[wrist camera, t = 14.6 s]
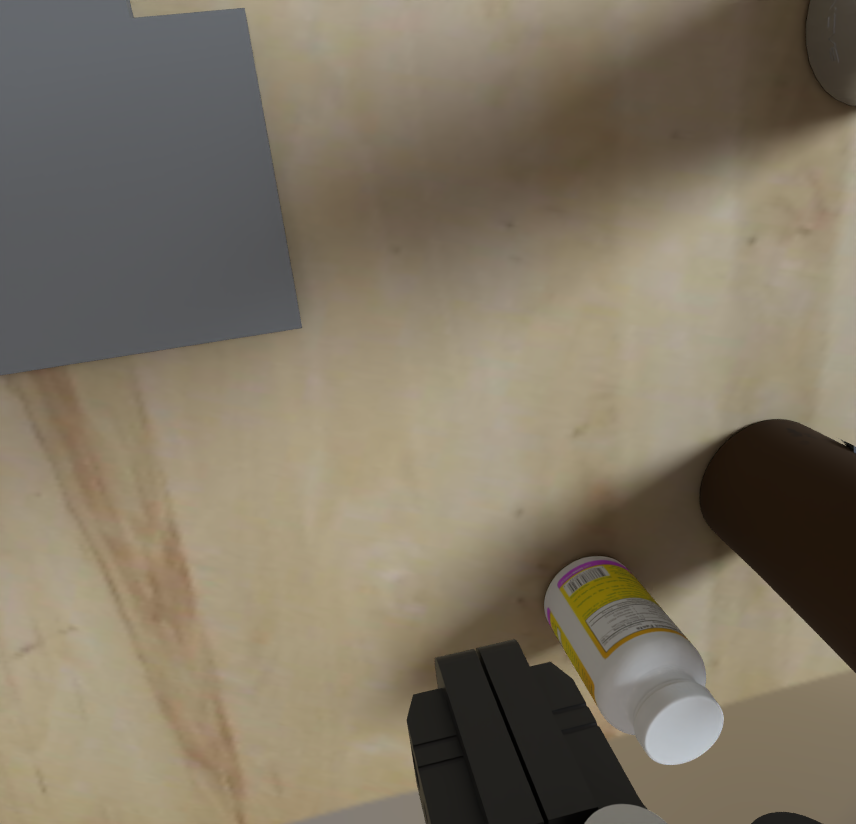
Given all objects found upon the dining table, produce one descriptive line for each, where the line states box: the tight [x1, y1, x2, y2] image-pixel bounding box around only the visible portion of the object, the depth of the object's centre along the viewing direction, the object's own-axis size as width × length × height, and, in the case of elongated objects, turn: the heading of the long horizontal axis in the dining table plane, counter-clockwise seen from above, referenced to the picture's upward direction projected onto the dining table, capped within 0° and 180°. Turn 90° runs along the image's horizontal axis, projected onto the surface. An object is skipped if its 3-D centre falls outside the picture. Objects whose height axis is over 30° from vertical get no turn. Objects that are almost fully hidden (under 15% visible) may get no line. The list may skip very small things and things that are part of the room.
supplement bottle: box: [544, 556, 724, 765], centre depth 44 cm, size 7×7×13 cm
